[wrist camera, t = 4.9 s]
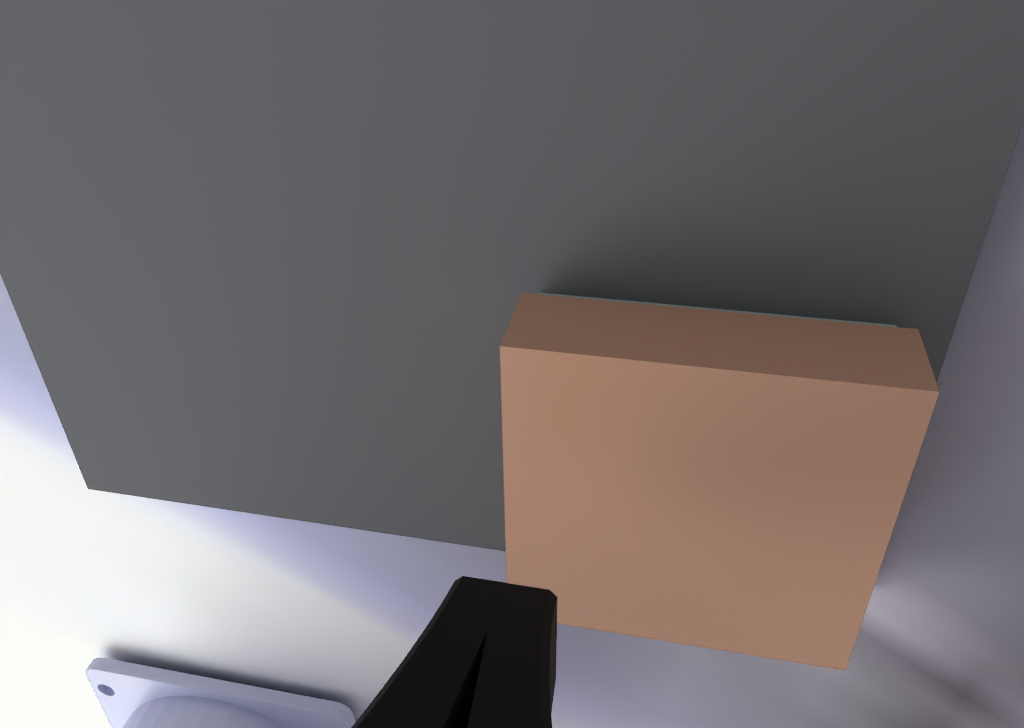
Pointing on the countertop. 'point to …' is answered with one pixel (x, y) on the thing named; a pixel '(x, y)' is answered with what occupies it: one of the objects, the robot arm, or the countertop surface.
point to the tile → (707, 468)
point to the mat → (456, 213)
